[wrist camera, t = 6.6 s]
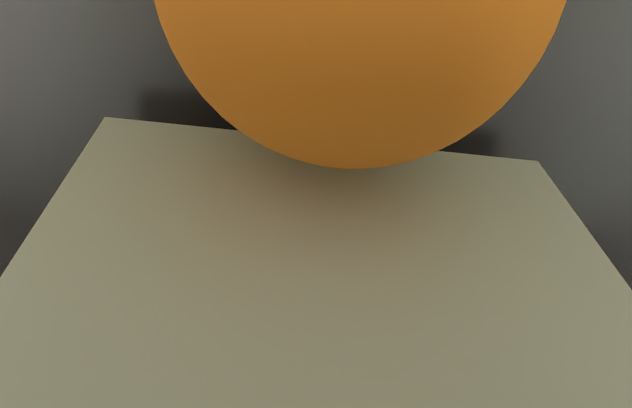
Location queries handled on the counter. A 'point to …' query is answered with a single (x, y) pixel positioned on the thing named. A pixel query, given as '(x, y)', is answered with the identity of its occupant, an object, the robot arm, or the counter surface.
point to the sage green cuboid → (307, 284)
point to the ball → (358, 70)
